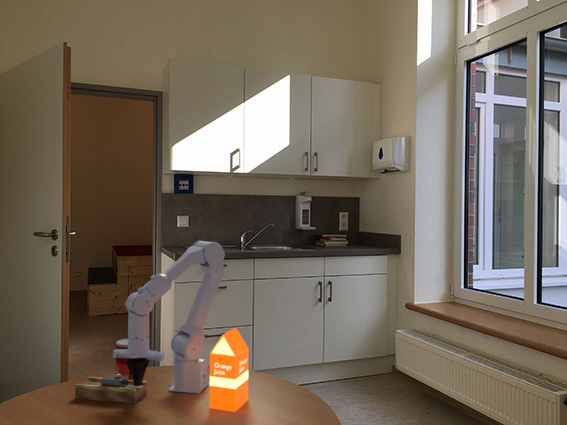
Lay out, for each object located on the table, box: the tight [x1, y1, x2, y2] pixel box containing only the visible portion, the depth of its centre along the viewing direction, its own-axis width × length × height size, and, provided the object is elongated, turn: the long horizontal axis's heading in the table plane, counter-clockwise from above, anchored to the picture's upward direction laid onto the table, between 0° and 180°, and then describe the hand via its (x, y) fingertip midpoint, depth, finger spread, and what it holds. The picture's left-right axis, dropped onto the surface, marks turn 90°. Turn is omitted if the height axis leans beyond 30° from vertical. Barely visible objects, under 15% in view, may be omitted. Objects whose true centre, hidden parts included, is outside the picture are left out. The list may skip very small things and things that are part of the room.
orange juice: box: [209, 327, 250, 413], centre depth 135 cm, size 8×9×20 cm
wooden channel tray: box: [74, 376, 148, 405], centre depth 139 cm, size 18×7×4 cm, turn 79°
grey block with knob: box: [101, 373, 129, 388], centre depth 139 cm, size 6×4×3 cm
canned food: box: [115, 338, 133, 380], centre depth 157 cm, size 8×8×11 cm
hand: (138, 384), depth 138 cm, fingers closed
